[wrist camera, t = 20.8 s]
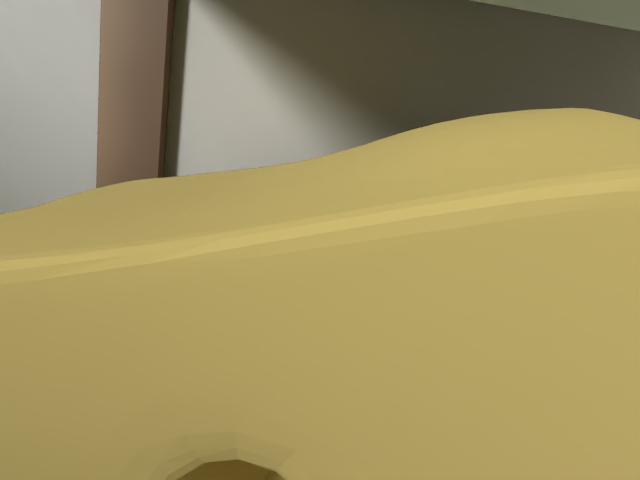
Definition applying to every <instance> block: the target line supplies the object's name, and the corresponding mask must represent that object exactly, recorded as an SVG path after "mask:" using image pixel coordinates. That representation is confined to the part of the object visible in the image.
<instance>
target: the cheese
mask: <svg viewBox="0 0 640 480" xmlns="http://www.w3.org/2000/svg"><path fill="white" fill-rule="evenodd" d="M0 480H640V120H639V119H635V118H631V117H627V116H624V115H620V114H615V113H609V112H604V111H599V110H593V109H587V108H555V109H533V110H522V111H512V112H502V113H493V114H485V115H478V116H471V117H466V118H461V119H456V120H451V121H446V122H441V123H436V124H432V125H428V126H424V127H420V128H417V129H413V130H409V131H406V132H402V133H399V134H396V135H392V136H389V137H386V138H383V139H380V140H377V141H374V142H371V143H368V144H365V145H361V146H358V147H355V148H351V149H348V150H344V151H341V152H337V153H333V154H329V155H325V156H321V157H317V158H313V159H309V160H305V161H299V162H294V163H287V164H281V165H274V166H267V167H259V168H251V169H242V170H233V171H224V172H215V173H206V174H196V175H187V176H177V177H165V178H152V179H142V180H134V181H128V182H123V183H118V184H113V185H109V186H105V187H101V188H96V189H93V190H89V191H86V192H82V193H78V194H74V195H70V196H67V197H64V198H61V199H58V200H55V201H52V202H49V203H46V204H43V205H39V206H36V207H32V208H28V209H23V210H18V211H13V212H8V213H3V214H0Z"/></svg>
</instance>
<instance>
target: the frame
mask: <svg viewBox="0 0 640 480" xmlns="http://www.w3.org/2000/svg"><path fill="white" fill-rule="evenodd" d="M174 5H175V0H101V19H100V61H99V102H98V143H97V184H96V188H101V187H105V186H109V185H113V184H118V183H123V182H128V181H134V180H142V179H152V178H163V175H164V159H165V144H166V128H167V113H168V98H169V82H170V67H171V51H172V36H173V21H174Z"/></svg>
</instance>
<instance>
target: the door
mask: <svg viewBox="0 0 640 480" xmlns="http://www.w3.org/2000/svg"><path fill="white" fill-rule="evenodd" d="M471 1H476V2H482V3H487V4H493V5H498V6H504V7H509V8H515V9H520V10H526V11H531V12H537V13H542V14H548V15H553V16H559V17H564V18H570V19H575V20H581V21H586V22H592V23H597V24H603V25H608V26H614V27H619V28H625V29H630V30H636V31H640V0H471Z"/></svg>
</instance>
